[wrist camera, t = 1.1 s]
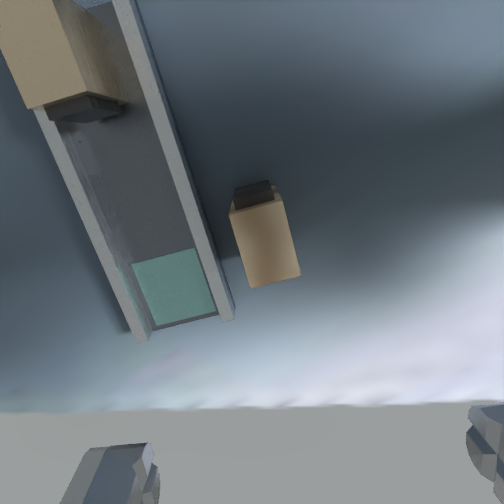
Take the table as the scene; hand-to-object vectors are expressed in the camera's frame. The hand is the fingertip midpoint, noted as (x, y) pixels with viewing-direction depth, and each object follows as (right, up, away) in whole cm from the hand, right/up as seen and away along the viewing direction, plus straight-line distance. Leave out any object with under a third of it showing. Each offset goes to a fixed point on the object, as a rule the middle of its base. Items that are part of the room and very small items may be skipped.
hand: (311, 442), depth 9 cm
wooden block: (-1, +8, +24) cm, 26 cm away
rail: (-12, +11, +23) cm, 28 cm away
